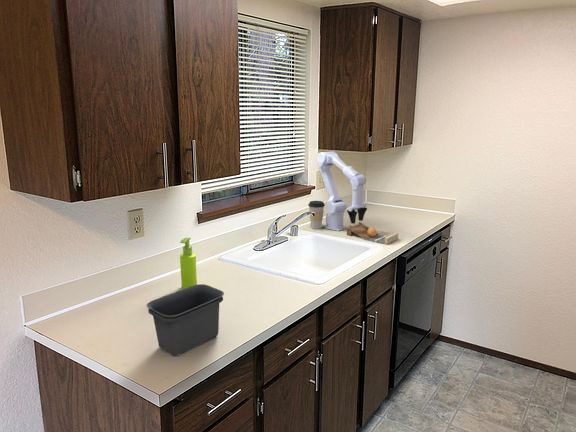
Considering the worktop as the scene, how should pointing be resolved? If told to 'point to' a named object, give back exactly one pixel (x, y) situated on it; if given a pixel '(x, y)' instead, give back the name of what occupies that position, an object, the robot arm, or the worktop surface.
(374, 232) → the ball
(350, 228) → the ramp
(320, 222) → the coffee cup
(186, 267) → the soap dispenser
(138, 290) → the worktop surface
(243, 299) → the worktop surface
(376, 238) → the mat
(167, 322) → the storage bin
